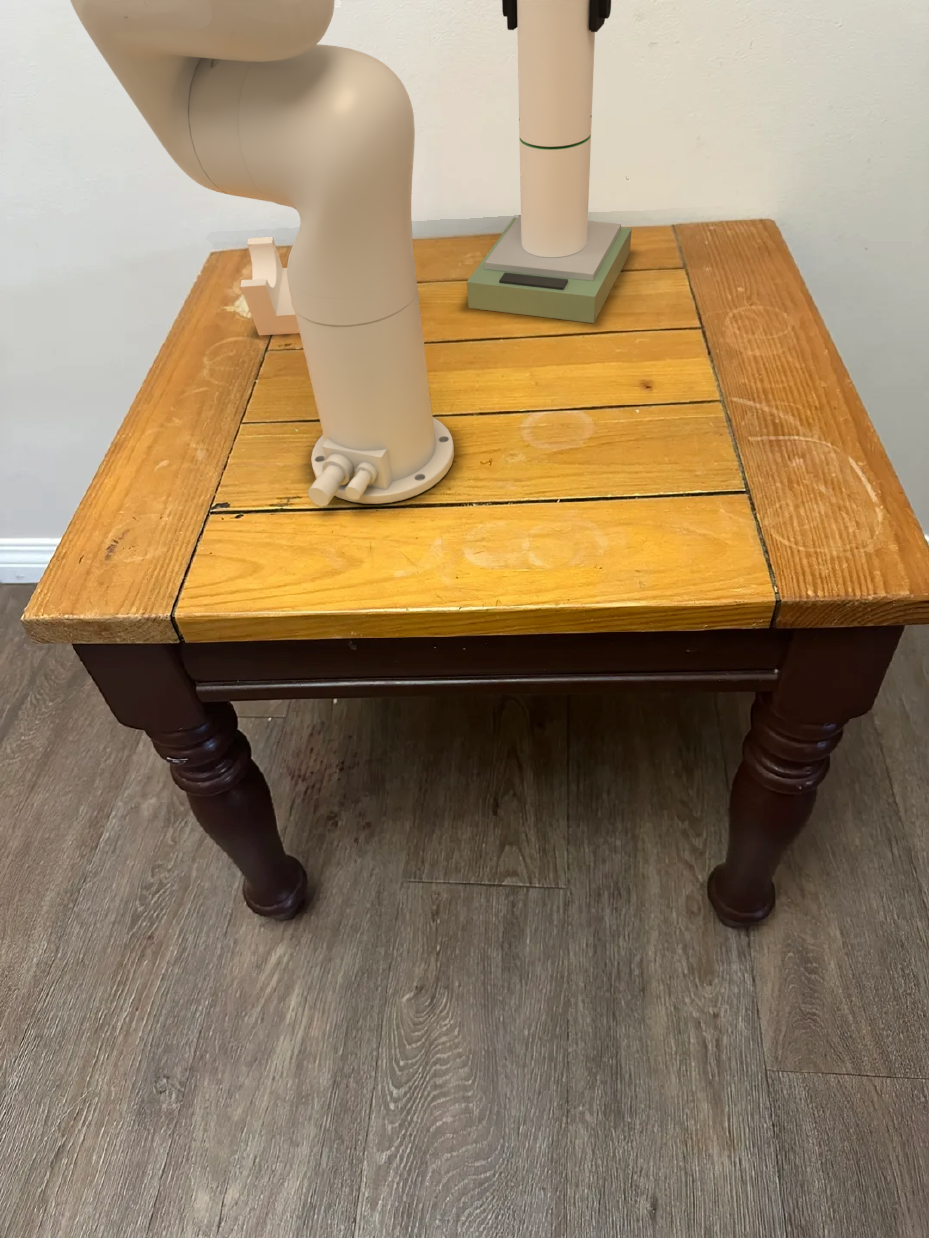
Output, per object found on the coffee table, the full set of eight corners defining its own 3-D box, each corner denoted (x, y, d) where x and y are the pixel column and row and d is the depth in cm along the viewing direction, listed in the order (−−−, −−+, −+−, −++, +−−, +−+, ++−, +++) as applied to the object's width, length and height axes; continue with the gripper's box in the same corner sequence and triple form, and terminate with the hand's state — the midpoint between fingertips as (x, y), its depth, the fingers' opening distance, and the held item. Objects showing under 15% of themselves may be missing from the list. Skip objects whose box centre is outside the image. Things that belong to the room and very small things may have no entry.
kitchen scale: (594, 323, 90) (595, 289, 87) (468, 308, 94) (466, 274, 91) (629, 254, 100) (632, 220, 97) (514, 242, 104) (513, 210, 101)
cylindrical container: (587, 227, 96) (597, -51, 78) (586, 257, 92) (597, -32, 73) (523, 229, 97) (518, -46, 79) (519, 258, 92) (513, -27, 74)
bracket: (261, 341, 94) (240, 286, 87) (268, 295, 97) (248, 238, 90) (379, 335, 93) (367, 279, 86) (382, 288, 96) (371, 230, 90)
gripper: (435, -231, 67) (453, 37, 80) (660, -247, 62) (640, 42, 75) (469, -242, 71) (481, 14, 84) (680, -257, 66) (658, 17, 79)
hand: (556, 25), depth 80 cm, fingers closed on cylindrical container, 7 cm apart
